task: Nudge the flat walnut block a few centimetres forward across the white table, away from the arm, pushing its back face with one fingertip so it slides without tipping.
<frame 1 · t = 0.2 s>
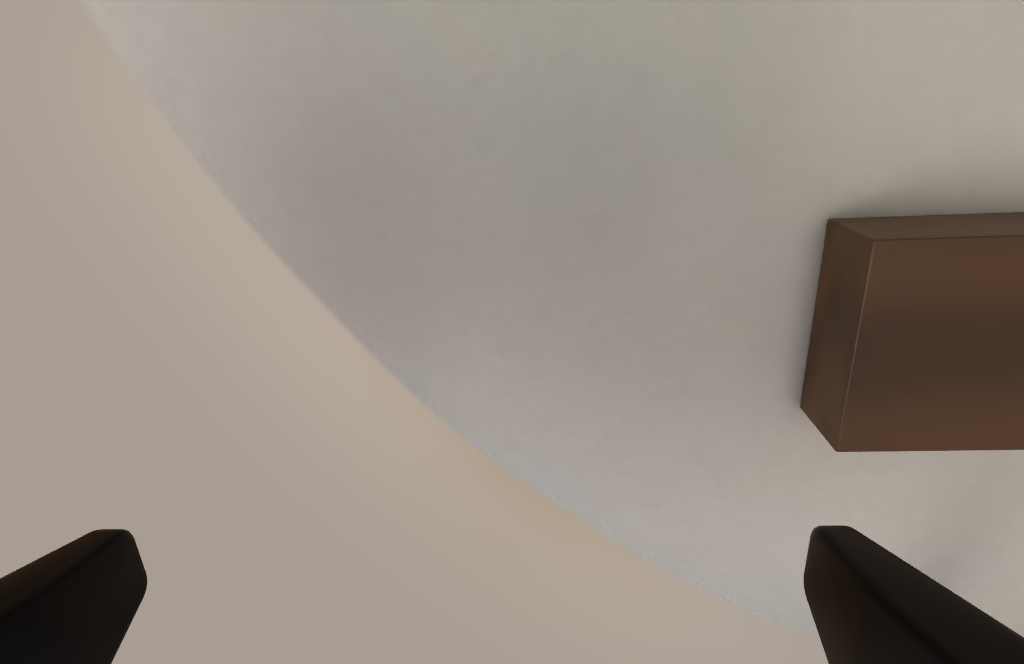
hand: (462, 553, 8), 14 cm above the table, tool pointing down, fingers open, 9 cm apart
walnut block: (916, 316, 21), on the table
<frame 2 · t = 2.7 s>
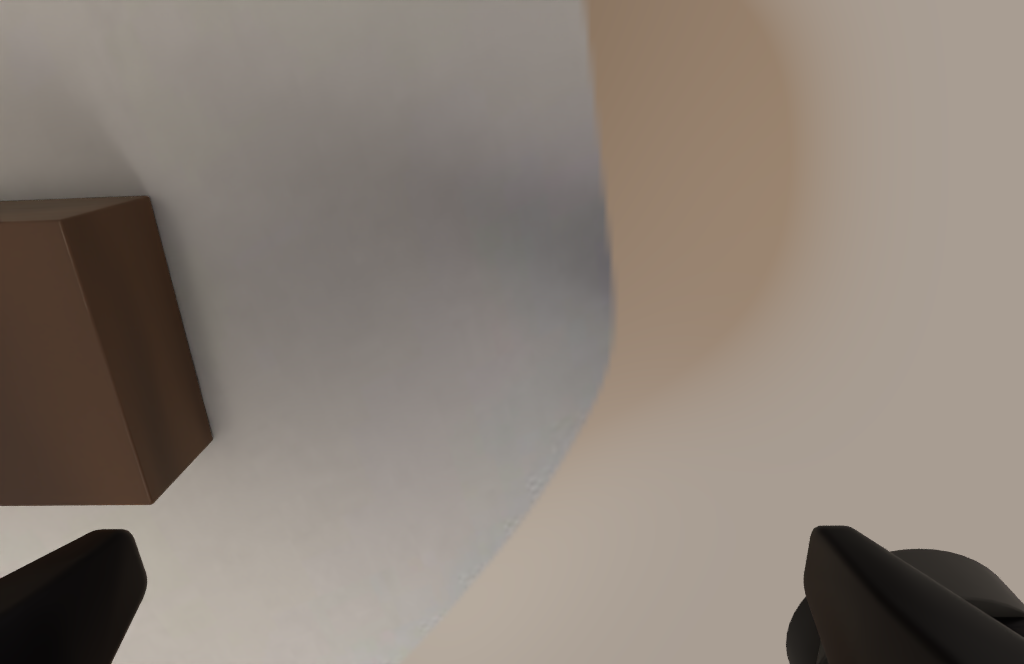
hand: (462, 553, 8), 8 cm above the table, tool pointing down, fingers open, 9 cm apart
walnut block: (60, 330, 16), on the table
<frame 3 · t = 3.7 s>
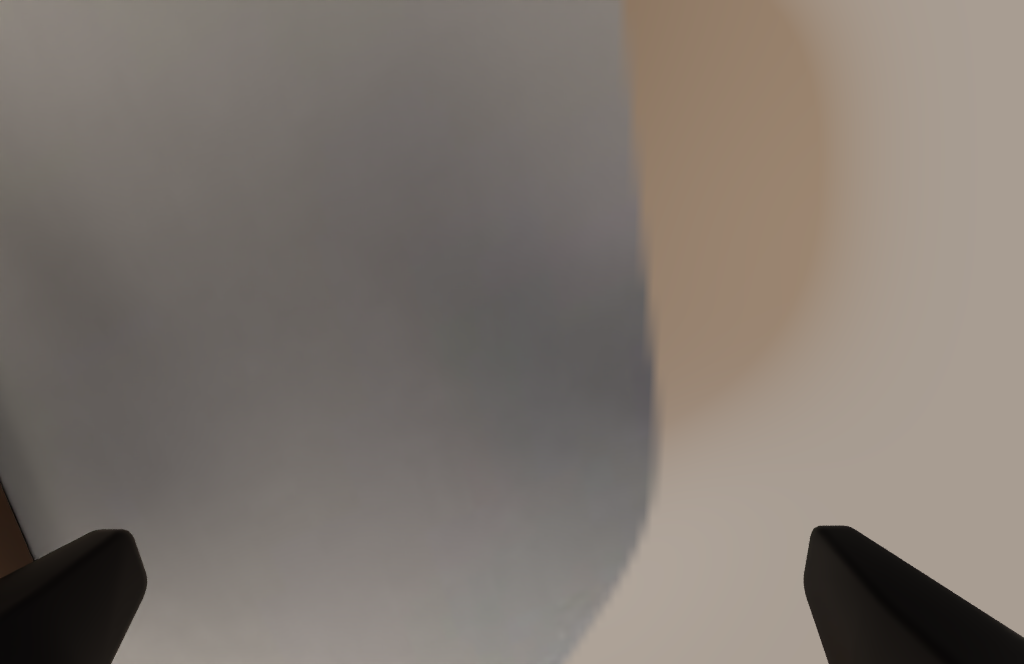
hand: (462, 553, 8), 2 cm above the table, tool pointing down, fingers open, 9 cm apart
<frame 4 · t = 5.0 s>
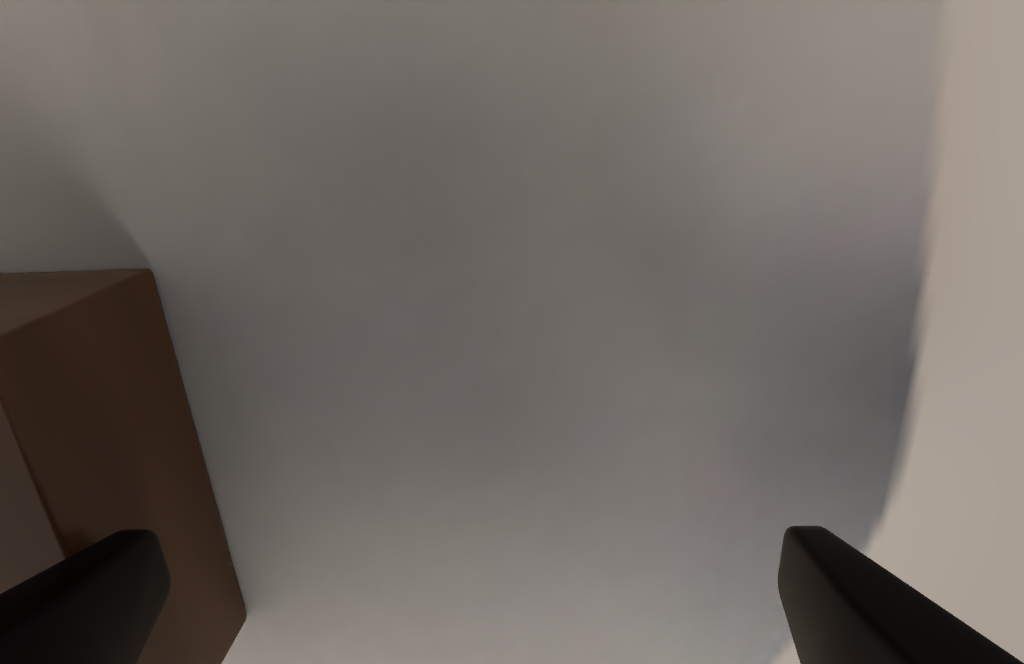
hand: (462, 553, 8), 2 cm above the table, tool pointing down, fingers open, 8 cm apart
walnut block: (13, 466, 11), on the table, touching gripper
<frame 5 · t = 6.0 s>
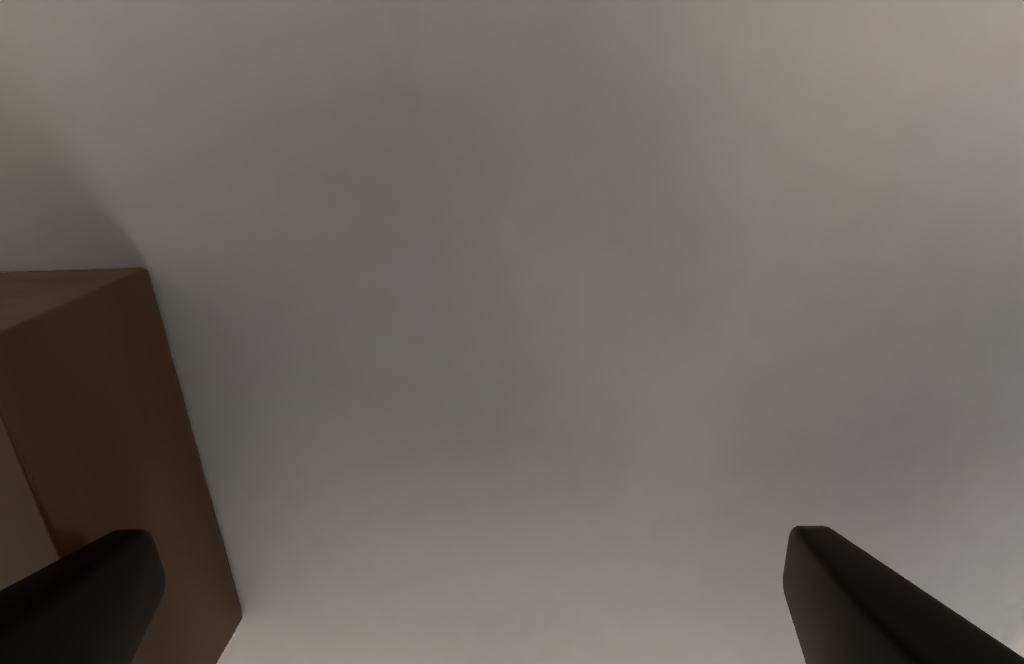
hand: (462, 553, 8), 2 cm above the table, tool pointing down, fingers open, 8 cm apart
walnut block: (9, 465, 11), on the table, touching gripper
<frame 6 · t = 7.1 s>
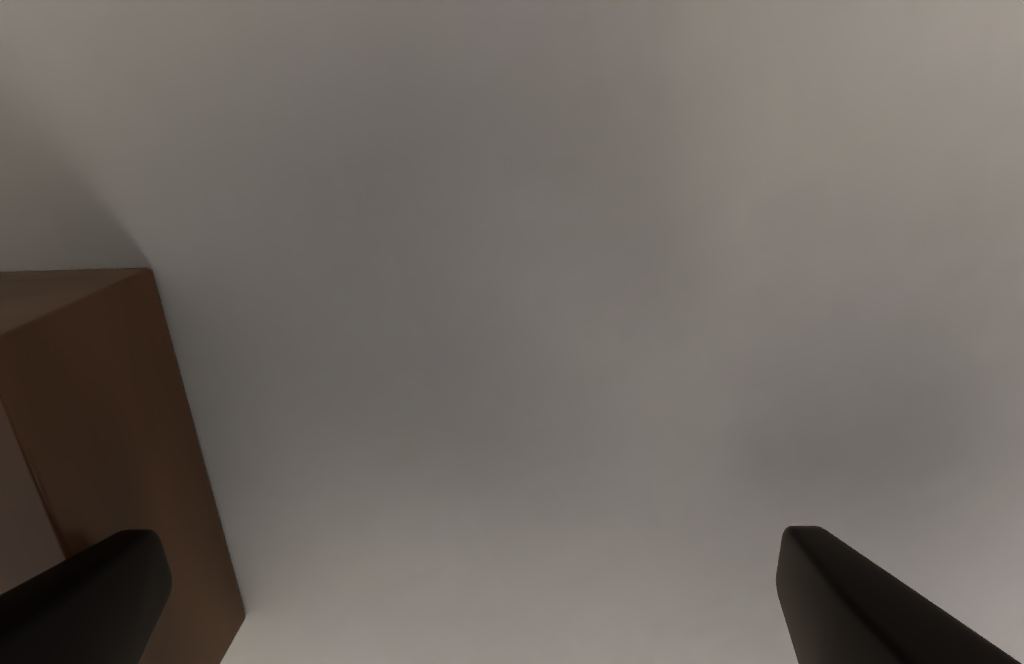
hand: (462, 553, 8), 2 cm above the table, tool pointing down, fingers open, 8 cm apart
walnut block: (12, 465, 11), on the table, touching gripper
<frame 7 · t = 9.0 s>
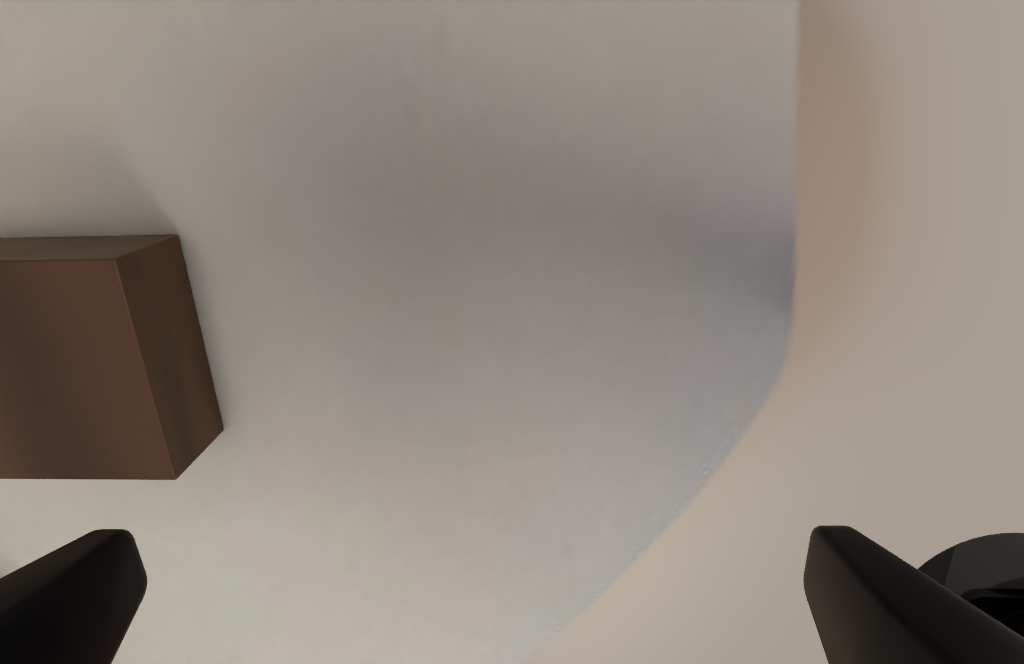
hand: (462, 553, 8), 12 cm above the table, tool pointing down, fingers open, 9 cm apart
walnut block: (102, 339, 20), on the table
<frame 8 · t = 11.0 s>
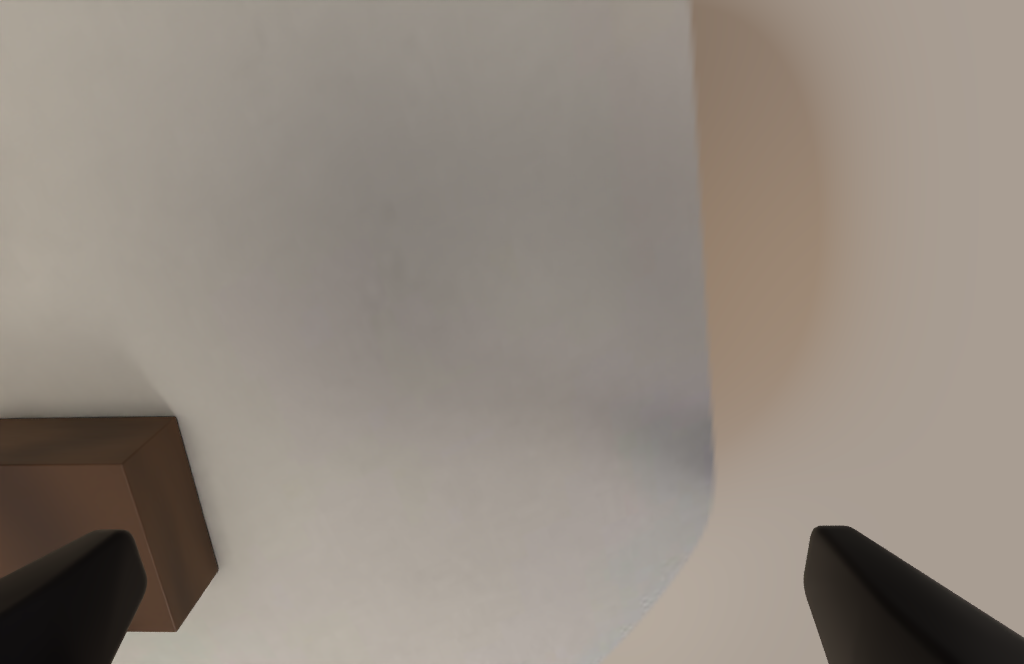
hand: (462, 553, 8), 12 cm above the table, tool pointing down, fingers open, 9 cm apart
walnut block: (109, 497, 23), on the table
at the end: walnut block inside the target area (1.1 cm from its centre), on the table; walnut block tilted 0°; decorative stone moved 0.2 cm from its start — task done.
